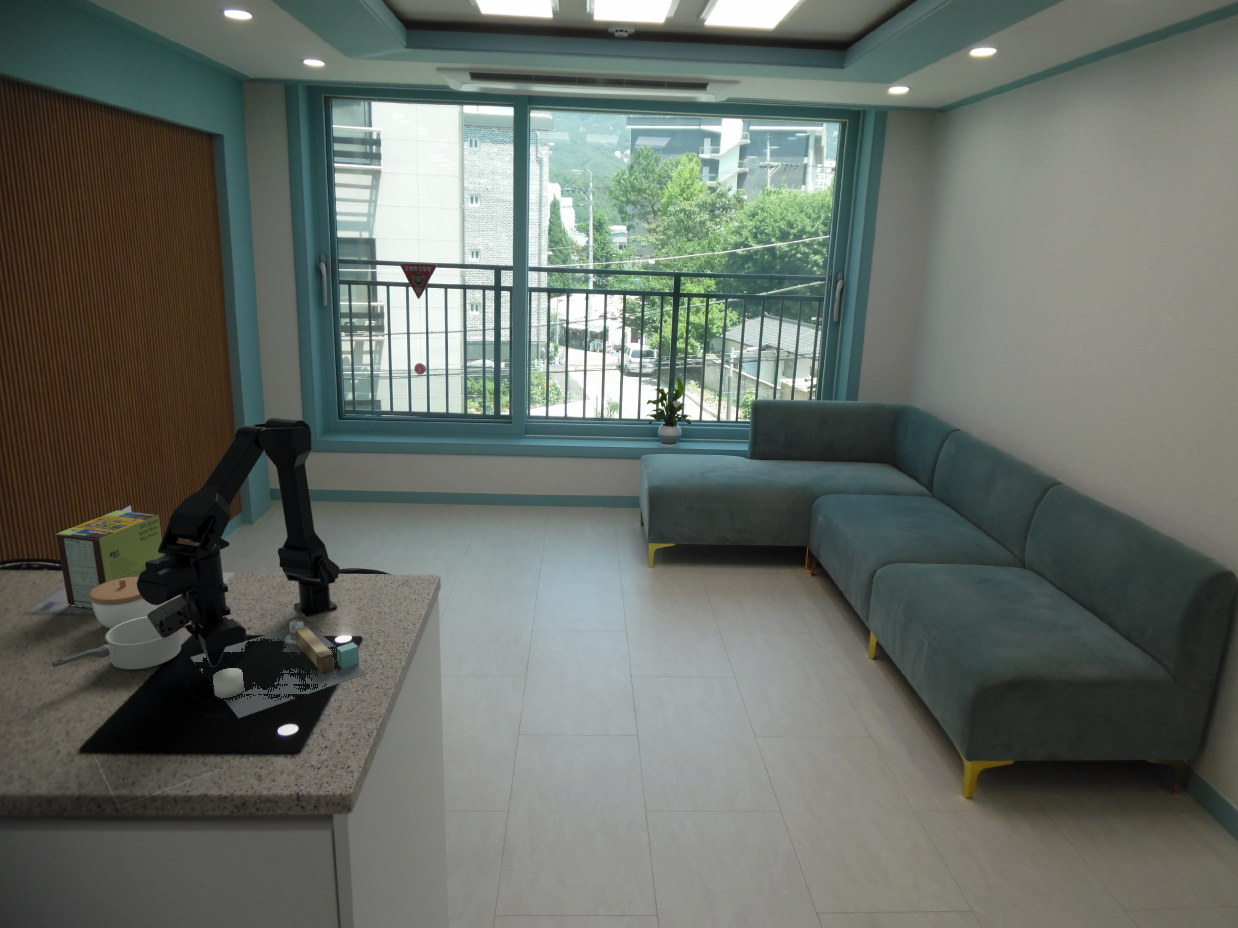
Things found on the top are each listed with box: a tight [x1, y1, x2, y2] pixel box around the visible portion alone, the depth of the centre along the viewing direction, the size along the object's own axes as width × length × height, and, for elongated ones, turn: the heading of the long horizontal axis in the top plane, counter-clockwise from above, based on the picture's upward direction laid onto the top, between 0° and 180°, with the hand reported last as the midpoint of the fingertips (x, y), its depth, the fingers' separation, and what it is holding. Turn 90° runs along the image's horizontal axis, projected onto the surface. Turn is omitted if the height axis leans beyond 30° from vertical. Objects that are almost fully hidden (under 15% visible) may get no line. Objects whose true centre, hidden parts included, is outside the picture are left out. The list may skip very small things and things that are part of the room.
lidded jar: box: [90, 577, 157, 630], centre depth 154 cm, size 11×11×9 cm
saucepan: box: [51, 617, 182, 670], centre depth 139 cm, size 12×20×6 cm, turn 147°
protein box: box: [55, 509, 165, 610], centre depth 167 cm, size 10×15×16 cm
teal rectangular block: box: [336, 641, 360, 669], centre depth 142 cm, size 2×3×4 cm, turn 132°
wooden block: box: [295, 626, 334, 673], centre depth 144 cm, size 13×2×3 cm, turn 39°
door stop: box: [212, 668, 244, 699], centre depth 133 cm, size 4×4×3 cm
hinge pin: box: [285, 618, 304, 644], centre depth 151 cm, size 4×4×4 cm
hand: (214, 665), depth 138 cm, fingers closed
